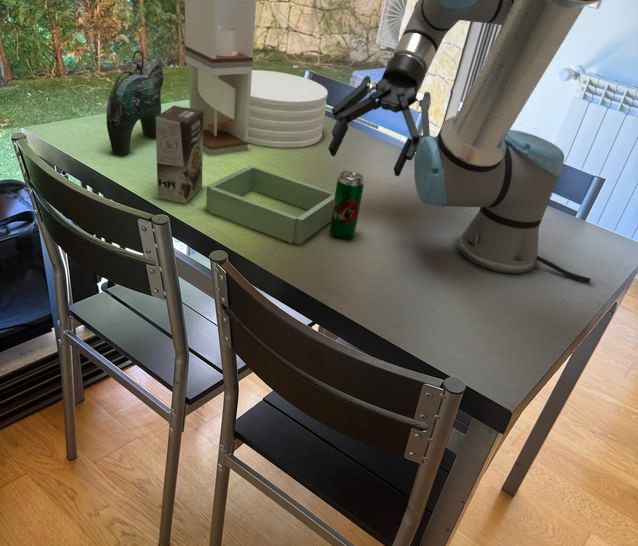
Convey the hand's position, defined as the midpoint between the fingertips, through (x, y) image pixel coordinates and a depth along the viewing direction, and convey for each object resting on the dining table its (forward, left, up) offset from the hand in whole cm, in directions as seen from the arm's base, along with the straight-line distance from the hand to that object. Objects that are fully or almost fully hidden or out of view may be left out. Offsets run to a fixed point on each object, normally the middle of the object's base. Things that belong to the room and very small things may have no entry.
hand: (363, 162), depth 113 cm
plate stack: (+43, -39, -14) cm, 59 cm away
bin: (+15, +6, -13) cm, 21 cm away
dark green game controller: (+58, -4, -14) cm, 60 cm away
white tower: (+46, -18, -14) cm, 51 cm away
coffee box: (+34, +11, -14) cm, 38 cm away
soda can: (0, +4, -14) cm, 14 cm away
